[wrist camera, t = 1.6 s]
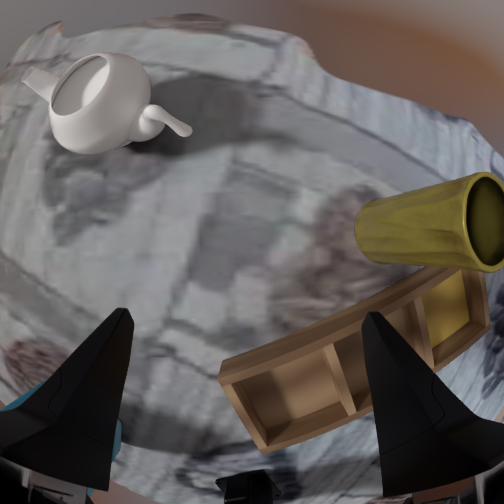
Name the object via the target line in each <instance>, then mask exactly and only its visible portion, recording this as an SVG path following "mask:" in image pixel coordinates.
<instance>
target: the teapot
mask: <svg viewBox="0 0 504 504" xmlns="http://www.w3.org/2000/svg"><path fill="white" fill-rule="evenodd" d="M22 81H23V82H24V83H25V84H26V85H28V86H29V87H30V88H31V89H32V90H34V91H35V92H36V93H37V94H39V95H40V96H41V97H42V98H44V99H45V100H46V101H47V102H49V118H50V123H51V127H52V131H53V134H54V136H55V138H56V140H57V141H58V142H59V144H60V145H62V146H63V147H64V148H66V149H68V150H70V151H72V152H75V153H78V154H84V155H95V154H101V153H105V152H108V151H111V150H114V149H116V148H118V147H123V146H126V145H128V144H130V143H131V142H133V141H134V142H143V141H148V140H150V139H152V138H154V137H156V136H157V135H159V134H160V133H161V132H162V130H163V129H164V127H165V124H167V125H168V126H169V127H170V128H172V129H173V130H174V131H175V132H176V133H177V134H178V135H179V136H182V137H188V136H190V135H191V134H192V128H191V127H190V126H189V125H187V124H185V123H183V122H182V121H180V120H178V119H176V118H174V117H173V116H171V115H170V114H169V113H168V112H167V111H165V110H164V109H163V108H162V107H161V106H159V105H154V104H153V105H151V104H150V100H151V86H150V81H149V78H148V75H147V73H146V71H145V69H144V68H143V66H142V65H141V64H140V63H139V62H138V61H137V60H136V59H135V58H133V57H131V56H129V55H125V54H119V53H111V52H101V53H95V54H91V55H88V56H86V57H84V58H82V59H80V60H78V61H77V62H75V63H74V64H73V65H71V66H70V67H69V68H68V69H67V70H66V71H65V72H64V73H63V74H62V76H61V77H59V76H56V75H54V74H51V73H49V72H46V71H44V70H41V69H38V68H36V67H33V66H32V67H30V68H28V69H27V70H26V71H25V73H24V74H23V76H22Z"/></svg>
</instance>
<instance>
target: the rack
mask: <svg viewBox="0 0 504 504" xmlns="http://www.w3.org/2000/svg"><path fill="white" fill-rule="evenodd" d="M369 311H379V312H380V313H381V314H382V315H383V316H384V317H385V318H386V319H387V320H388V321H389V323H390V324H391V325H392V326H393V327H394V328H395V329H396V330H397V331H398V332H399V333H400V334H401V336H402V337H403V338H404V339H405V340H406V341H407V342H408V343H409V344H410V345H411V347H412V348H413V349H414V350H415V351H416V352H417V353H418V354H419V356H420V357H421V358H422V359H423V360H424V361H425V362H426V363H427V365H428V366H429V367H430V368H431V369H432V370H433V372H434V373H436V372H438V371H439V370H440V369H442V368H443V367H445V366H446V365H447V364H449V363H450V362H451V361H453V360H454V359H455V358H457V357H458V356H459V355H460V354H462V353H463V352H464V351H465V350H467V349H468V348H469V347H470V346H472V345H473V344H474V343H475V342H476V341H477V340H479V339H480V338H481V337H482V336H483V335H484V334H485V333H487V332H488V331H489V330H490V317H489V307H488V298H487V291H486V284H485V278H484V272H480V271H471V270H462V269H455V268H447V267H434V266H425V267H423V268H422V269H420V270H418V271H417V272H415V273H413V274H411V275H410V276H408V277H406V278H404V279H403V280H401V281H399V282H397V283H395V284H394V285H392V286H390V287H388V288H386V289H384V290H383V291H381V292H379V293H377V294H375V295H373V296H371V297H369V298H367V299H365V300H363V301H361V302H359V303H358V304H356V305H353V306H351V307H349V308H347V309H345V310H343V311H341V312H339V313H337V314H335V315H333V316H331V317H329V318H326V319H324V320H322V321H320V322H318V323H315V324H313V325H311V326H309V327H307V328H304V329H302V330H300V331H297V332H295V333H293V334H290V335H288V336H286V337H283V338H281V339H278V340H276V341H273V342H271V343H268V344H266V345H263V346H261V347H258V348H256V349H253V350H251V351H248V352H245V353H243V354H240V355H237V356H234V357H232V358H229V359H226V360H223V361H222V364H221V368H220V371H219V375H218V381H219V383H220V385H221V386H222V388H223V390H224V392H225V394H226V395H227V397H228V399H229V401H230V402H231V404H232V406H233V408H234V409H235V411H236V413H237V414H238V416H239V418H240V419H241V421H242V423H243V424H244V426H245V428H246V429H247V431H248V433H249V434H250V436H251V437H252V439H253V440H254V442H255V444H256V445H257V447H258V448H259V450H260V451H261V453H262V454H265V453H269V452H272V451H276V450H279V449H282V448H285V447H288V446H291V445H294V444H297V443H300V442H303V441H305V440H308V439H311V438H313V437H316V436H319V435H321V434H324V433H326V432H328V431H331V430H333V429H336V428H338V427H340V426H342V425H345V424H347V423H349V422H351V421H353V420H355V419H358V418H360V417H362V416H364V415H366V414H368V413H370V412H372V411H373V405H372V399H371V394H370V388H369V383H368V378H367V373H366V367H365V360H364V350H363V341H362V332H361V326H362V323H363V321H364V319H365V317H366V314H367V313H368V312H369Z"/></svg>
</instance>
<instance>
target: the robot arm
mask: <svg viewBox="0 0 504 504" xmlns="http://www.w3.org/2000/svg"><path fill="white" fill-rule="evenodd" d="M133 332H134V321H133V319H132V317H131V315H130V312H129V310H128V309H127V308H117V309H115V310H114V311H113V312H112V313H111V314H110V315H109V316H108V317H107V318H106V319H105V320H104V321H103V322H102V323H101V324H100V325H99V326H98V327H97V328H96V329H95V330H94V331H93V332H92V333H91V334H90V335H89V336H88V337H87V339H86V340H85V341H84V342H83V343H82V344H81V345H80V346H79V347H78V348H77V349H76V350H75V351H74V352H73V353H72V354H71V355H70V356H69V357H68V358H67V359H66V361H65V362H64V363H63V364H62V365H61V367H59V368H58V369H57V370H56V371H55V372H54V373H53V374H52V375H51V377H50V378H49V379H48V380H47V381H46V382H45V383H44V384H43V385H41V386H40V387H39V388H38V389H37V390H36V391H35V392H34V393H33V394H32V395H31V396H30V397H29V398H27V399H26V400H25V401H24V402H23V403H22V404H21V405H19V406H18V407H16V408H13V409H10V410H5V411H0V504H94V503H93V502H92V501H91V499H90V497H89V496H88V494H87V489H88V488H92V489H97V490H102V491H107V492H108V489H109V480H110V470H111V462H112V454H113V446H114V439H115V432H116V426H117V420H118V415H119V409H120V404H121V399H122V394H123V389H124V384H125V380H126V375H127V371H128V366H129V361H130V355H131V347H132V339H133ZM361 332H362V341H363V350H364V360H365V367H366V373H367V378H368V383H369V388H370V394H371V399H372V405H373V411H374V417H375V424H376V431H377V438H378V446H379V454H380V464H381V474H382V486H383V497H384V498H385V497H392V496H399V495H405V494H410V493H412V497H409V498H407V499H406V500H405V502H404V503H403V504H504V424H503V423H499V422H495V421H491V420H487V419H483V418H481V417H479V416H477V415H475V414H474V413H473V412H472V411H471V410H470V409H469V408H468V407H467V406H466V405H465V404H464V403H463V402H462V401H461V400H460V399H458V398H457V397H456V396H455V395H454V394H453V393H452V392H451V390H450V389H449V388H448V387H447V386H446V385H445V384H444V383H443V382H442V381H441V380H440V378H439V377H438V376H437V375H436V374H435V373H434V372H433V370H432V369H431V368H430V367H429V366H428V365H427V363H426V362H425V361H424V360H423V359H422V358H421V357H420V356H419V354H418V353H417V352H416V351H415V350H414V349H413V348H412V347H411V345H410V344H409V343H408V342H407V341H406V340H405V339H404V338H403V337H402V336H401V334H400V333H399V332H398V331H397V330H396V329H395V328H394V327H393V326H392V325H391V324H390V323H389V321H388V320H387V319H386V318H385V317H384V316H383V315H382V314H381V313H380V312H379V311H369V312H368V313H367V314H366V317H365V319H364V321H363V323H362V326H361ZM261 473H262V474H261ZM215 483H216V485H217V486H218V487H219V488H220V489H221V490H222V491H223V492H224V494H225V496H224V504H273V499H274V498H278V497H281V492H280V491H279V489H278V488H277V487H276V485H275V484H274V483H273V481H272V480H271V479H270V477H269V476H268V475H267V473H266V472H265V471H264V470H259V471H255V472H251V473H246V474H242V475H237V476H232V477H227V478H221V479H217V480H216V482H215Z"/></svg>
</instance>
